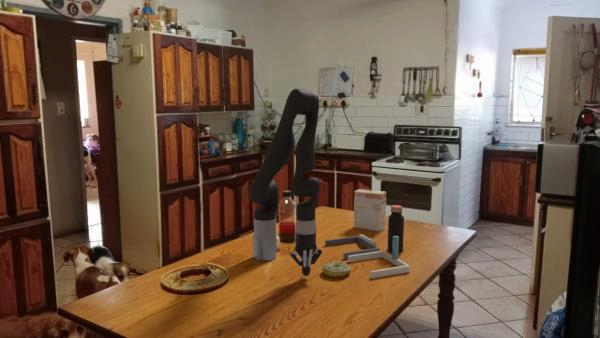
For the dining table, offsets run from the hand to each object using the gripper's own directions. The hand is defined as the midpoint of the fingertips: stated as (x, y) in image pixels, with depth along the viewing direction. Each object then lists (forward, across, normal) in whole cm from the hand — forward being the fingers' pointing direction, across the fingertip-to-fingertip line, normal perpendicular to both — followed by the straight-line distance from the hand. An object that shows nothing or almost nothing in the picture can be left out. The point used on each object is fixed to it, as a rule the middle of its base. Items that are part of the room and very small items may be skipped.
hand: (305, 275), depth 172 cm
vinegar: (+2, -49, -14) cm, 51 cm away
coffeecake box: (+2, -56, -48) cm, 74 cm away
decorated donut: (+2, -13, 0) cm, 13 cm away
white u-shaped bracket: (+1, -31, 0) cm, 31 cm away
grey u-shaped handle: (+1, -31, -22) cm, 38 cm away
